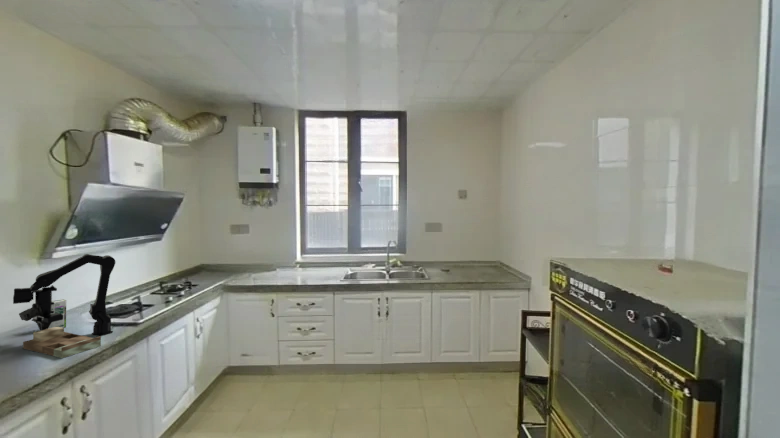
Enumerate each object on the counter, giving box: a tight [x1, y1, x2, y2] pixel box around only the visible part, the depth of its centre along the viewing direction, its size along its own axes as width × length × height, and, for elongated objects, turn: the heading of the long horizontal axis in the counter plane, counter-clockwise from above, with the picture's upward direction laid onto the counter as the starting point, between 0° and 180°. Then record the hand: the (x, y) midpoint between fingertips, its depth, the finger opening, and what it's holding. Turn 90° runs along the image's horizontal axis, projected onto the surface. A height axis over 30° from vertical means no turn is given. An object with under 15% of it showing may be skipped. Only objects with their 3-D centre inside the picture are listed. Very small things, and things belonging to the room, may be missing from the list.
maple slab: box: [32, 327, 65, 342], centre depth 180 cm, size 10×5×4 cm, turn 162°
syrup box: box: [48, 298, 67, 329], centre depth 202 cm, size 6×6×14 cm
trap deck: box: [22, 331, 102, 359], centre depth 177 cm, size 16×26×4 cm, turn 72°
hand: (43, 333), depth 181 cm, fingers closed
